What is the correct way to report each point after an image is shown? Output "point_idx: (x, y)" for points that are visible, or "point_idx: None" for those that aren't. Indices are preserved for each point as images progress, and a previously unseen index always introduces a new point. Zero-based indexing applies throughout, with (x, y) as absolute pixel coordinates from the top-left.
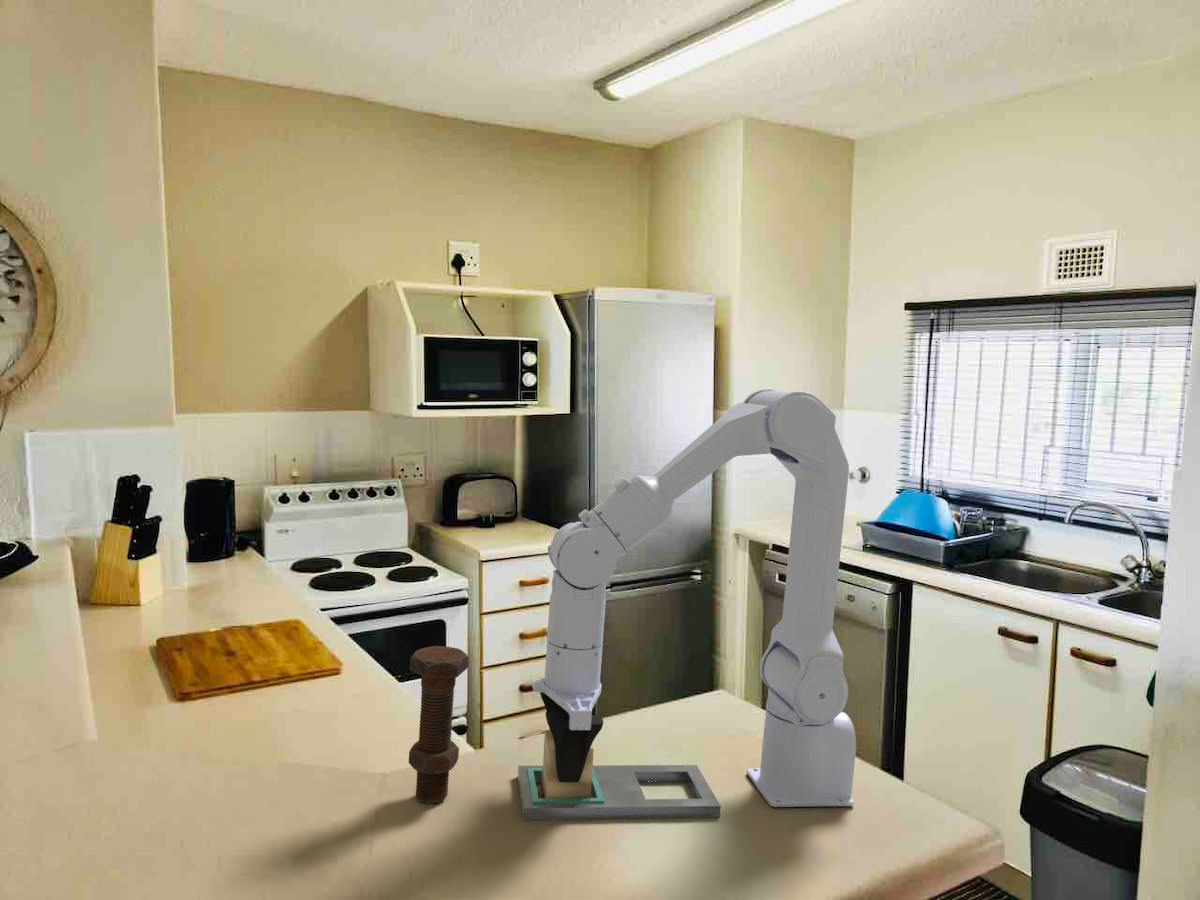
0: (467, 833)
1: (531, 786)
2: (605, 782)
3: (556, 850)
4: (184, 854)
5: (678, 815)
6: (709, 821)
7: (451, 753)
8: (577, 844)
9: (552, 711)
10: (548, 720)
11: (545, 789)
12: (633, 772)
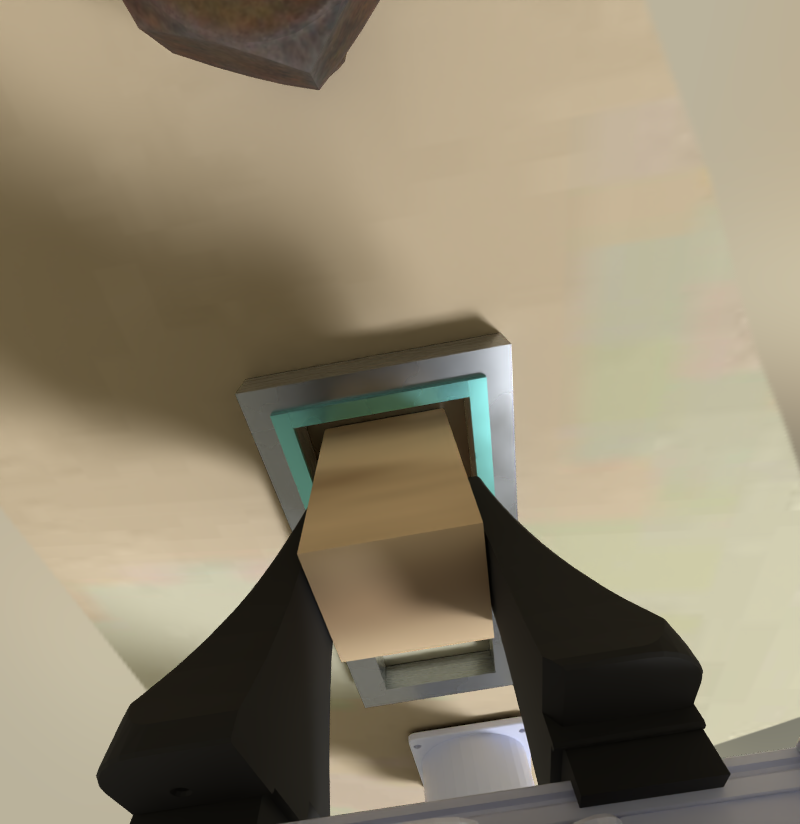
0: (106, 221)
1: (361, 403)
2: None
3: (137, 465)
4: None
5: None
6: (349, 673)
7: (172, 26)
8: (183, 502)
9: (515, 619)
10: (115, 751)
11: (357, 439)
12: None
